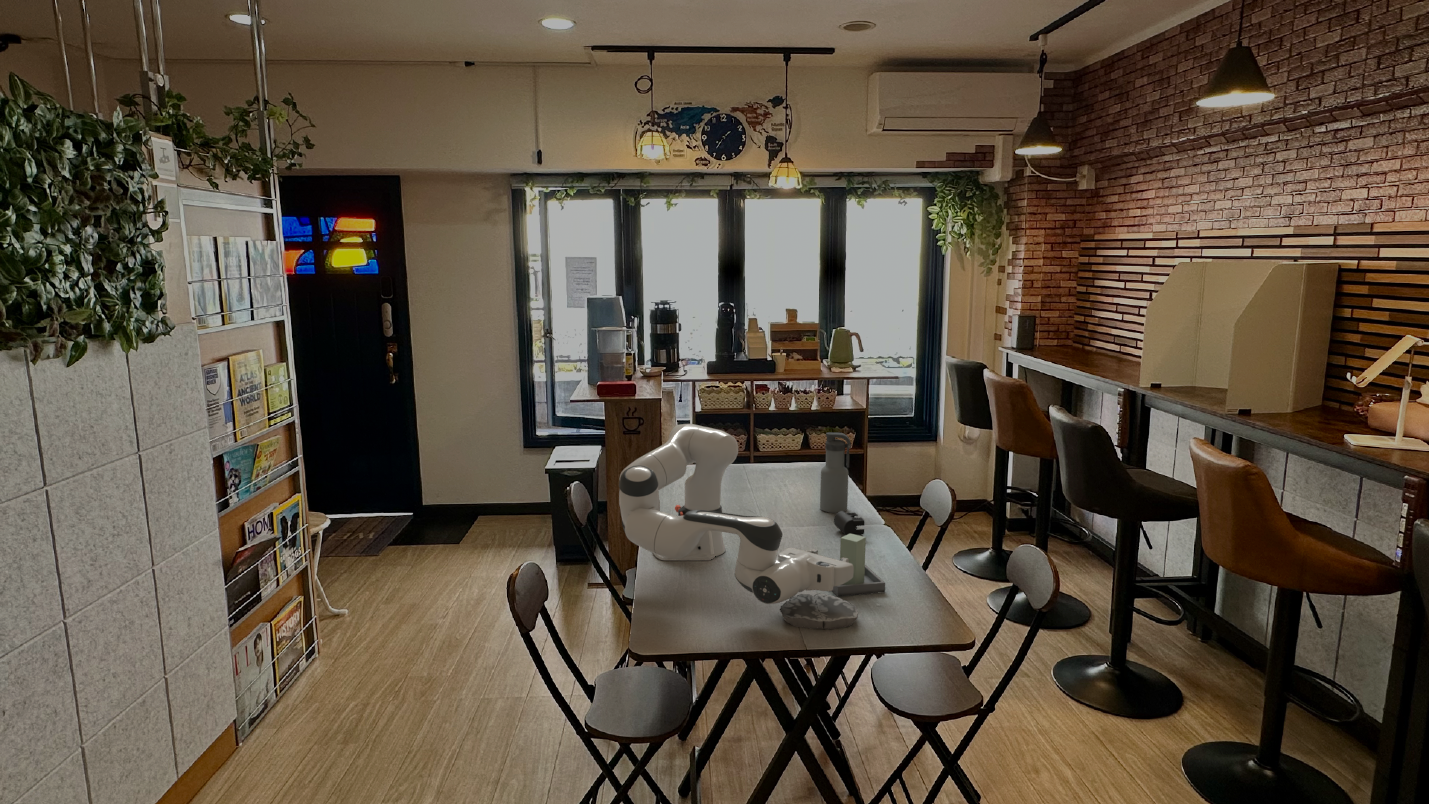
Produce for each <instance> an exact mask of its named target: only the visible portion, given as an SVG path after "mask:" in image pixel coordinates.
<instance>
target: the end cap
mask: <svg viewBox="0 0 1429 804" xmlns="http://www.w3.org/2000/svg"><path fill="white" fill-rule="evenodd" d="M858 516H859V515H858V514H857V513H856V512H846V511H840V512H838V513H835V515H834V518H833V524H834V525H835V527H836V528H837V529H838V530H840V531H841V532H842V534H844V536H846V535H848V534H850V533H851V534H855V535H859V536H863V537H864V535H865V528H863V529H862V528H861V529H860V528H859V529H858V527H861V526H862V527H864V526H865V522H866V521H865V519H864V518H863V517H858Z"/></svg>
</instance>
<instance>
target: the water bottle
mask: <svg viewBox="0 0 1429 804" xmlns="http://www.w3.org/2000/svg"><path fill="white" fill-rule="evenodd" d="M825 437H826V441H825V447H824V448H825V449H824V450H825V466H823V467H822V468H821V470H820V489H819V490H820V492H819V493H820V494H819V508H820V510H821V511H823V512H826V513H830V514H837V513H838V512H840V511H844V512H846V511H847V510H848V503H849V502H848V499H849V493H848V491H849V470H848V468H850V449H851V448H852V444H851V440H850V438H849V437H848V435H846V434H845V433H843V432H830V431H829V432H826V433H825ZM836 438H837V439H836ZM842 439H843V440H842ZM845 451H846V458H845ZM845 459H846V460H845ZM845 461H846V462H845ZM845 464H846V467H845Z"/></svg>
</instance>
